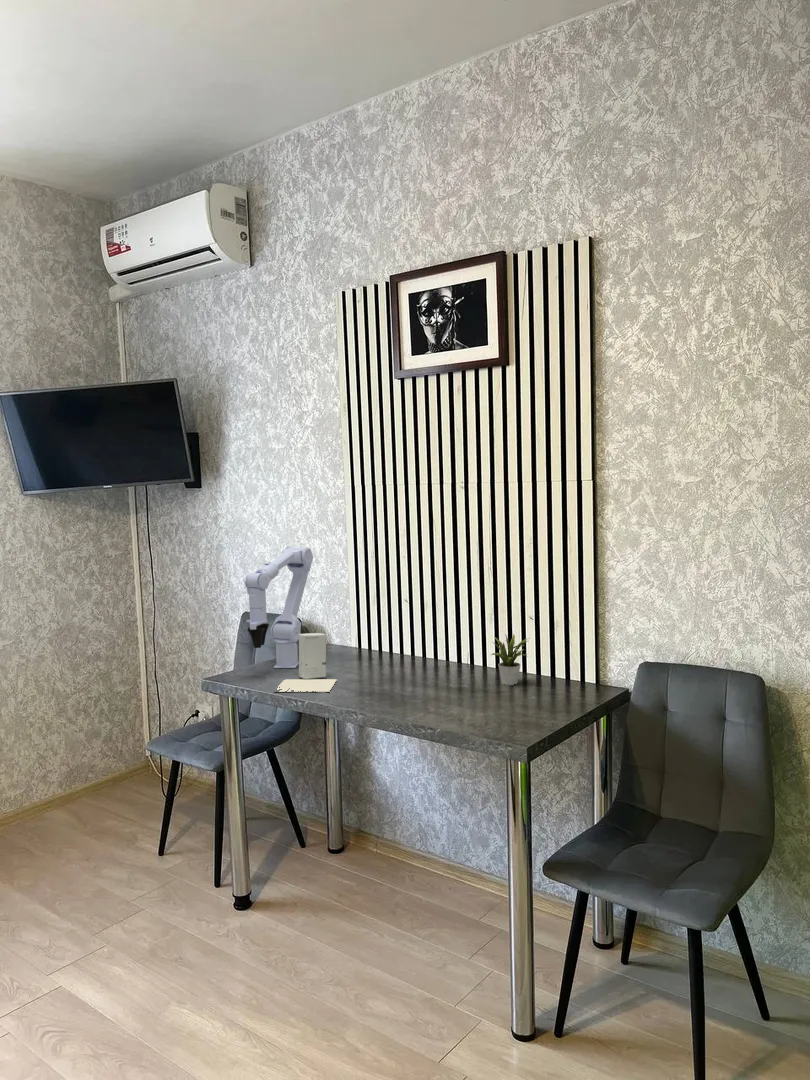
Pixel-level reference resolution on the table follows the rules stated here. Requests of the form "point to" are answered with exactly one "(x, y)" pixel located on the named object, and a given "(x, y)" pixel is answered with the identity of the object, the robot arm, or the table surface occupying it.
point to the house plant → (509, 661)
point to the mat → (307, 685)
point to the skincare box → (312, 655)
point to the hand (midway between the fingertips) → (259, 646)
